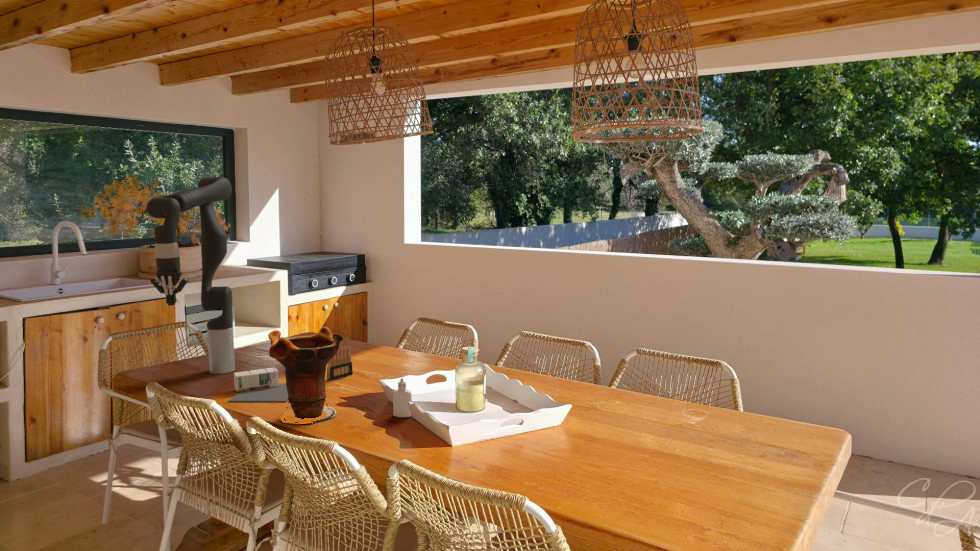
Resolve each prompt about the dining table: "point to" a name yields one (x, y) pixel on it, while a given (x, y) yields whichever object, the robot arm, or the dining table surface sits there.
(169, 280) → the robot arm
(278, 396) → the mat
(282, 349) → the decorative vase
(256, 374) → the syrup box
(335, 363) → the ammunition clip
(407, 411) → the eye dropper bottle
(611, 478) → the dining table surface
